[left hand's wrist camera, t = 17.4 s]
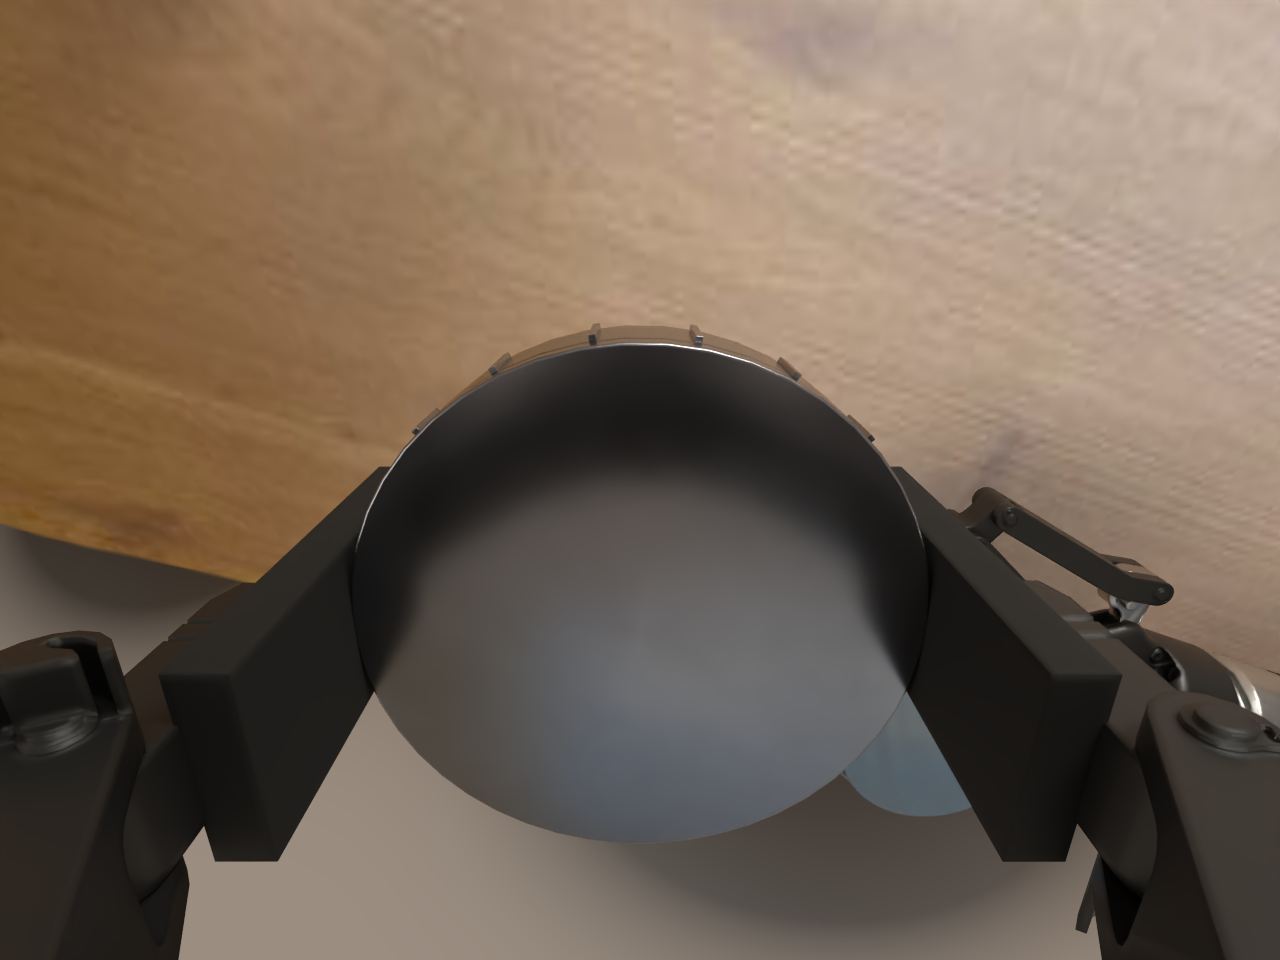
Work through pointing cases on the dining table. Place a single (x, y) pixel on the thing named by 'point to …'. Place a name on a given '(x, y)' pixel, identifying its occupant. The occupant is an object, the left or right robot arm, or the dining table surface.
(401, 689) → the lid
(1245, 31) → the dining table surface
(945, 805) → the jar
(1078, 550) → the right robot arm
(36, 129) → the dining table surface
